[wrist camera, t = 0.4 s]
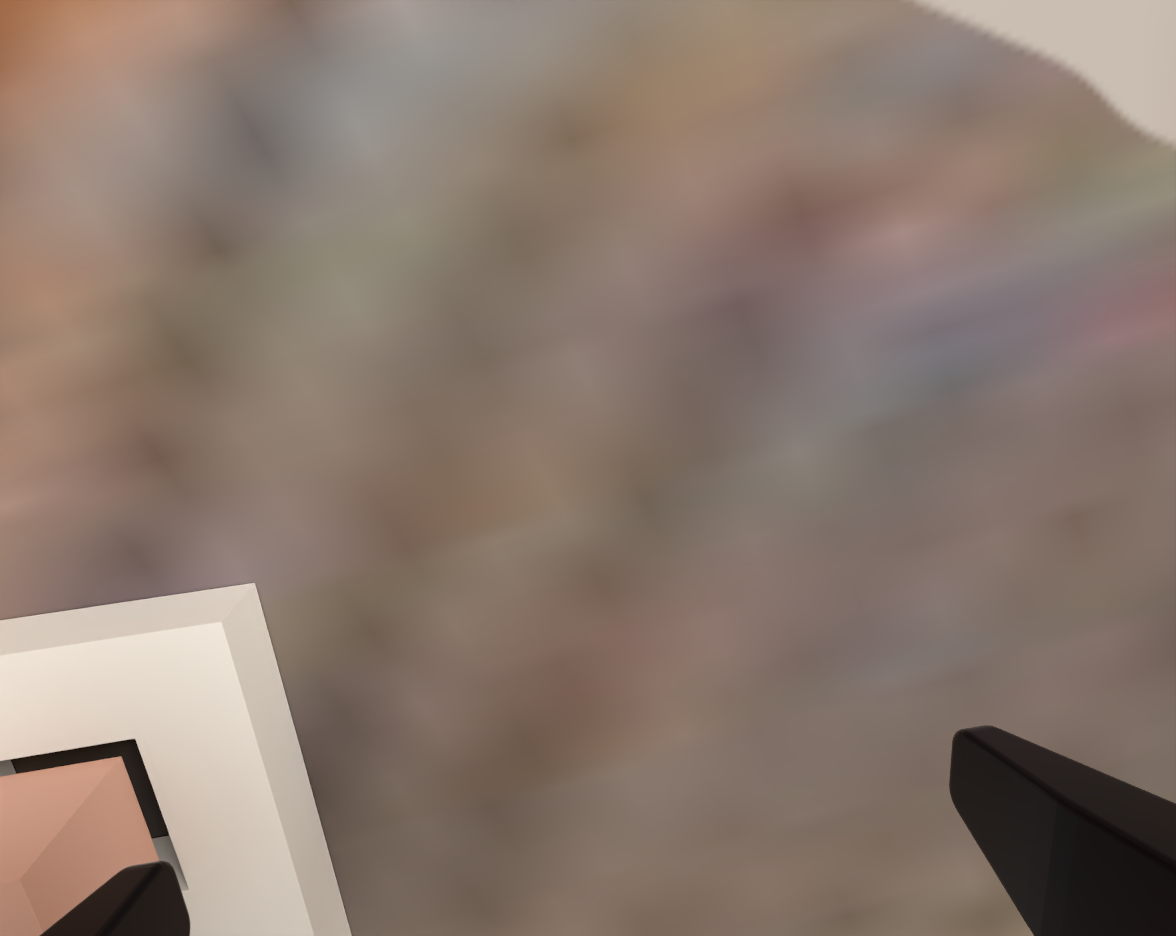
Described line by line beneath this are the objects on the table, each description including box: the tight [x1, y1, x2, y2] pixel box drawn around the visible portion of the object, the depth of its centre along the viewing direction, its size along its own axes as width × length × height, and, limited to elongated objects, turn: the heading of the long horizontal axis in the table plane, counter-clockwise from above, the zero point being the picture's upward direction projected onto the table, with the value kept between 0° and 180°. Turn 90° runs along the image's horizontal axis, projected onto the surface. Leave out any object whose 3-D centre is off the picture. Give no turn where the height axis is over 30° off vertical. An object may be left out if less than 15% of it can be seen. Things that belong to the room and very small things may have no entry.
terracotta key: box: [0, 756, 160, 936], centre depth 17 cm, size 5×5×4 cm
